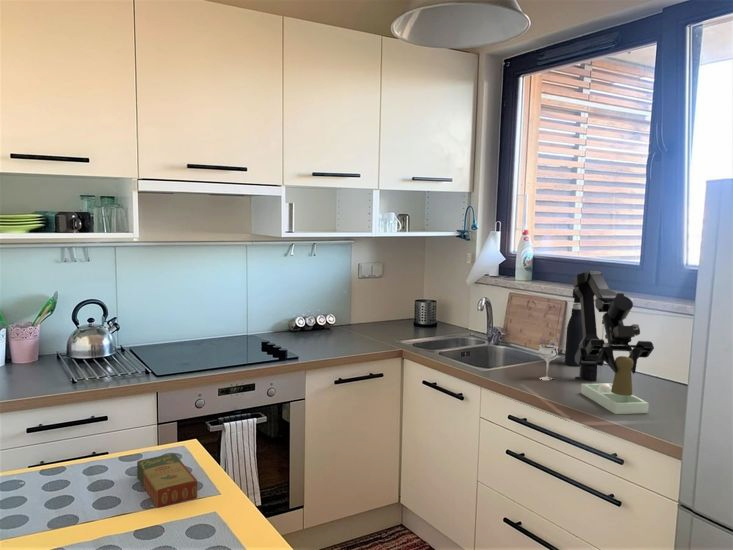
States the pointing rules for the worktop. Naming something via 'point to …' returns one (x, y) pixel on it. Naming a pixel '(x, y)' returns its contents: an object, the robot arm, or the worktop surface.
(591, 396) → the green divided tray
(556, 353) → the wineglass
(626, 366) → the cork
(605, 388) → the egg
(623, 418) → the worktop surface
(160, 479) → the carton
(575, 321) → the wine bottle
